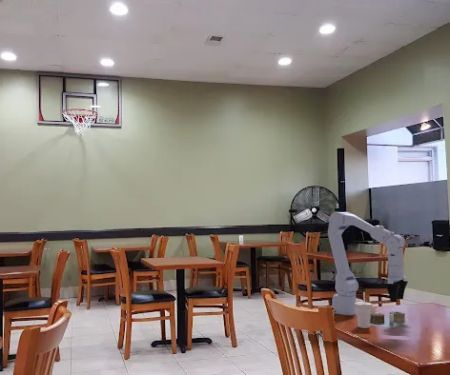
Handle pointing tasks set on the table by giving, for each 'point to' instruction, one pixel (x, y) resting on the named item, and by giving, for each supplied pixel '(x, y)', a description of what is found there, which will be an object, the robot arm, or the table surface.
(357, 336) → the table surface
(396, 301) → the robot arm
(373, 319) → the walnut gear
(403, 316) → the beech gear
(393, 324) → the gear board
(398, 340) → the table surface
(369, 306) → the smoothie
